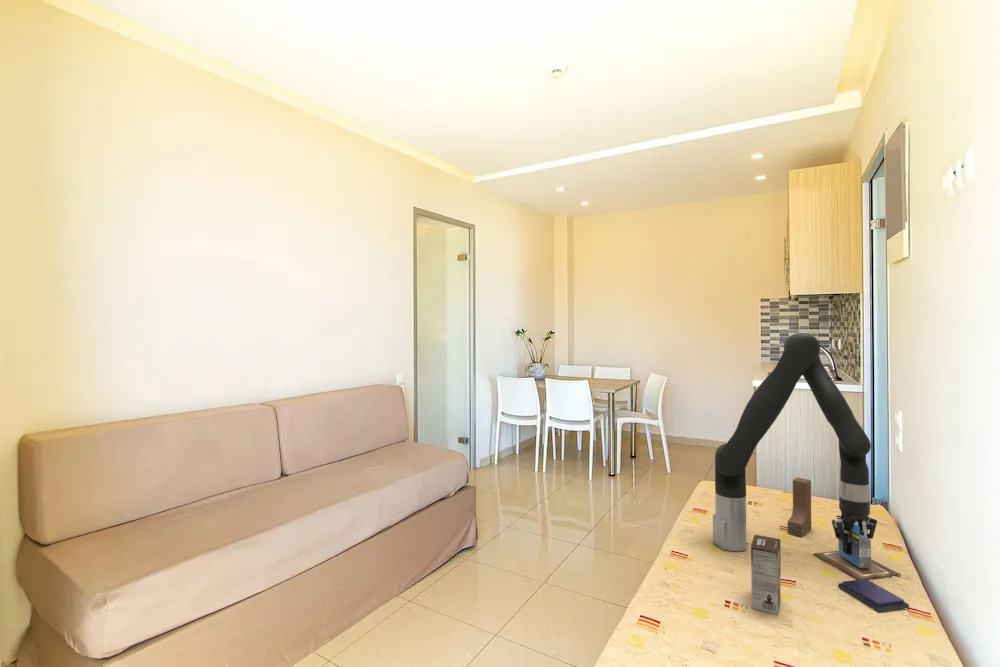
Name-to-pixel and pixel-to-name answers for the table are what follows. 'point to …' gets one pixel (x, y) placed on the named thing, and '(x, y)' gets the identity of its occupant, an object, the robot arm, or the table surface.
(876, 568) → the walnut board
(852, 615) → the table surface
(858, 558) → the label tape box
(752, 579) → the coffee box
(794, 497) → the wooden block
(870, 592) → the ink pad
